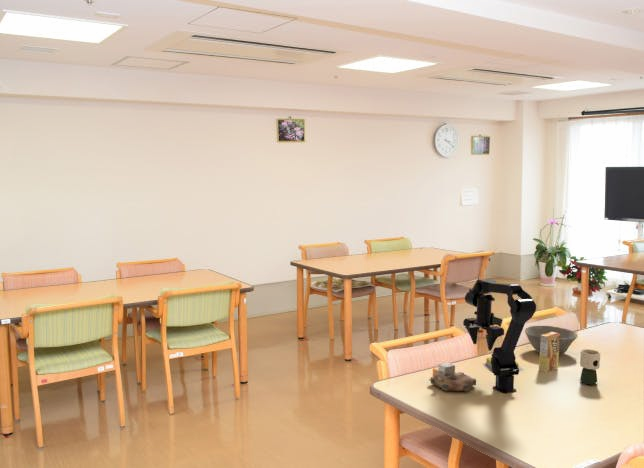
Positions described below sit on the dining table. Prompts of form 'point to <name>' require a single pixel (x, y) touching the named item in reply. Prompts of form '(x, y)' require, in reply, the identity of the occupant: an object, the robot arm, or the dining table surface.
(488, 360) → the emergency button
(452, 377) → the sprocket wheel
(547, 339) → the candy box
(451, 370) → the grey small block
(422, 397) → the dining table surface
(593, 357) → the character mug
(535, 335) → the ceramic bowl
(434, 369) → the index pointer
